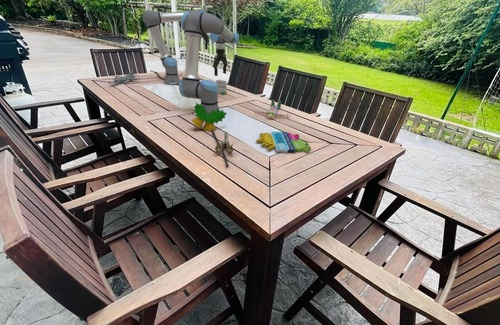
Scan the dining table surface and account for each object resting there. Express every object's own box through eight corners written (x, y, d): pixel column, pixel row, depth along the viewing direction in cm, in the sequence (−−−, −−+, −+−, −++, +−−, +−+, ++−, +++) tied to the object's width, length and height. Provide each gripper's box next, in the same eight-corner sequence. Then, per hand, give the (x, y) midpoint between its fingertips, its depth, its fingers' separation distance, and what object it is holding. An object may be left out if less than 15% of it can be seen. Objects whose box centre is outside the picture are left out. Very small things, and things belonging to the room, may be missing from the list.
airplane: (106, 78, 261) (104, 68, 256) (139, 76, 275) (138, 66, 269) (108, 88, 233) (105, 77, 228) (145, 86, 246) (143, 75, 241)
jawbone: (234, 135, 144) (233, 125, 135) (233, 160, 138) (232, 151, 129) (217, 135, 144) (216, 125, 135) (216, 160, 138) (214, 150, 129)
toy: (294, 101, 206) (290, 112, 180) (293, 110, 209) (289, 122, 183) (259, 97, 210) (251, 107, 185) (259, 106, 214) (250, 116, 188)
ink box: (226, 93, 240) (226, 80, 234) (223, 95, 236) (223, 81, 230) (218, 92, 243) (218, 79, 237) (215, 93, 239) (215, 80, 233)
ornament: (218, 133, 171) (224, 110, 169) (221, 134, 163) (227, 111, 161) (186, 125, 162) (192, 101, 160) (189, 126, 155) (195, 101, 153)
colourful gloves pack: (313, 150, 142) (258, 149, 139) (312, 153, 143) (258, 152, 140) (301, 132, 164) (254, 130, 161) (301, 134, 165) (254, 133, 162)
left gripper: (197, 27, 250) (197, 51, 261) (212, 27, 270) (212, 49, 280) (190, 26, 253) (191, 50, 263) (206, 26, 273) (206, 48, 283)
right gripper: (224, 47, 231) (224, 71, 241) (208, 49, 211) (208, 76, 222) (231, 48, 228) (231, 73, 239) (215, 50, 209) (215, 77, 219)
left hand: (202, 50), depth 272 cm, fingers open, 13 cm apart
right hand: (220, 74), depth 230 cm, fingers open, 13 cm apart
